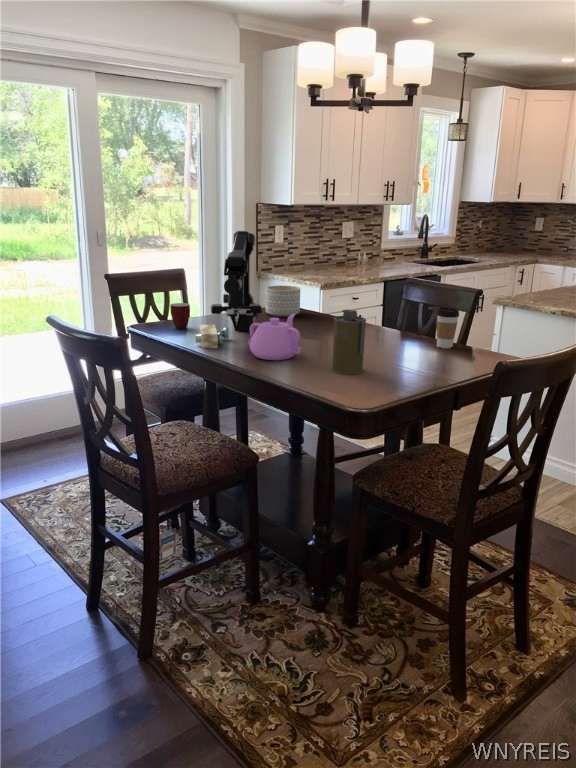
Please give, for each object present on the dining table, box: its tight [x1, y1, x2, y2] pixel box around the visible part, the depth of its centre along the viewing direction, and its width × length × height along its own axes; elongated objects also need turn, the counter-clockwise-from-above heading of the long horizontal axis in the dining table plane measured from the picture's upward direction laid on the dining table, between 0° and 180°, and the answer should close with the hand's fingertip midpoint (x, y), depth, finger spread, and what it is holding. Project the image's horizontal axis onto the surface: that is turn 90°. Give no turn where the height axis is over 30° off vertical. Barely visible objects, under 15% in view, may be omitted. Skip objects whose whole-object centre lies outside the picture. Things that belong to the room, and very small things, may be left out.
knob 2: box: [216, 327, 230, 340], centre depth 236 cm, size 8×4×4 cm, turn 100°
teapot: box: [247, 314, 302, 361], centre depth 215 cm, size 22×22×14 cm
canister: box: [331, 308, 367, 376], centre depth 197 cm, size 11×10×20 cm
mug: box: [169, 302, 191, 330], centre depth 253 cm, size 10×8×10 cm
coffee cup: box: [436, 306, 460, 349], centre depth 232 cm, size 8×8×15 cm
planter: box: [265, 284, 301, 318], centre depth 288 cm, size 16×16×13 cm
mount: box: [198, 324, 219, 349], centre depth 231 cm, size 6×17×5 cm, turn 10°
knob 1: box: [194, 333, 224, 345], centre depth 228 cm, size 10×4×4 cm, turn 100°
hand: (236, 331), depth 229 cm, fingers closed
